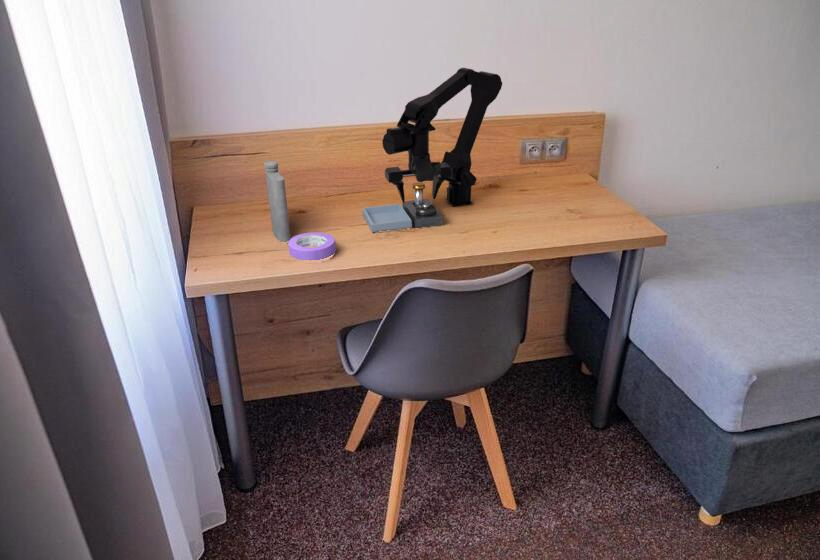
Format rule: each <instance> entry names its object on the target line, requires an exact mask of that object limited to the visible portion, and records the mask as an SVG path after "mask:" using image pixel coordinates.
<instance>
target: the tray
mask: <svg viewBox="0 0 820 560" xmlns="http://www.w3.org/2000/svg"><path fill="white" fill-rule="evenodd" d="M363 216H364V217H363ZM362 217H363V218H365V219H364V220H366V221H365V223H366V222H367V223H368V224H367V223H366V224H367V226H368V225H369V226H368V228H369V227H370V228H369V229H371V230H370V232H371V231H372V232H379V231H387V230H396V231H398V230H397V229H405V230H408V229H407V228H412V227H413V225H412V220H411V219H410V217H409V216H408V215H407V213H406V212H405V210H404V209H403V205H401V204H400V203H398V204H396V203H394V204H386V205H378V206H377V205H375V206H368V207H362ZM372 232H371V233H372ZM379 233H380V232H379Z"/></svg>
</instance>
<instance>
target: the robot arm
mask: <svg viewBox="0 0 820 560" xmlns="http://www.w3.org/2000/svg"><path fill="white" fill-rule="evenodd" d="M468 86H470V97H471V101H470V105H469V107H468V110H467V112H466V115H465V118H464V121H463V124H462V126H461V128H460V132H459V135H458V137H457V139H456V140H457V141H456V142H455V146H454V147H453V149H452V150H451V151H447V150H446V151H445V152H444V154H443V159H442V161H441V162H440V161H432V160H431V153H430V147H429V146H430V132H433V131H436V127H435V126H433V124H432V123H431V122H432V121H433V120H434V119H435V118H436V116H437V115H438V113H439V110H440V109H441V108H442V107H443V106H444V105H446V104H447V103H449V101H450V100H452V99H453V98H454V97H455V96H457V95H458V94H459V93H461V92H462V91H464V90H465V88H467V87H468ZM502 86H503V81H502V78H501V76H500V75H499V74H497V73H492V72H487V71H482V70H481V71H475V69H472V68H467V67H461V68H458V69H457V70H456V72H455V73H454V74H453V75H451V76H450V77H449V78H448V79H446V80H445V81H444V82H442V83H441V84H440V85H438V86H437V87H436V88H435V89H433V90H432V91H431V92H429V93H428V94H426V95H422V96H418V97H416V98H414V99H412V100H411V101H409V102H407V104H405V108H404V111H403V113H402V115H401V116H400V119H399V120H398V122H397V124H396V127H393V128H392V127H390V128H389V127H388V128H386V133H385V134H384V135H383V137H382V138H383V139H382V147H383V150H384V151H385V153H386V154H387V155H395V154H400V153H405V152H407V154H408V156H407V157H408V163H407V168H408V169H401V168H400V167H399V166H393V167H392V166H391V167H386V168H385V169H384V178H385V180H386V181H387V182H388V183H389V184H392V185H394V186H395V187H396V189H397V191H398V194H399V197H400V200H401V203H402V202H403V203H405V201H406V200H405V198H406V197H405V190H404V188H405V187H404V184H405V182H404V181H403V180H404V178H406V177H407V178H408V177H415V180H416V181H417V183H423V182H432V190H431V192H432V194H431V195H432V199H433V201H434V200H436V198H437V197H438V196H437V195H438V192H439V190H440V188H441V186H442V184H443V183H444V182H448V187H446V198H445V199H446V201H447V202H448V203H449V204H450V205H451V206H452V207H460V206H461V207H462V206H470V205H471V206H472V205H473V204H474V202H473V201H472V186H475V185H476V183H477V177H476V175H474V174H473V173H472V172H471V169H472V168H471V167H472V157H471V153H472V149H473V147H474V144H475V141H476V139H477V137H478V133H479V131H480V128H481V125H482V123H483V120H484V119H485V114H486V113H487V110H488V107H489V106H490V105H491V104H492V103H493V102H494V101H495V100H496V99H497V97H498V95H499V94H500V91H501V90H502ZM403 203H402V204H403Z"/></svg>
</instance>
